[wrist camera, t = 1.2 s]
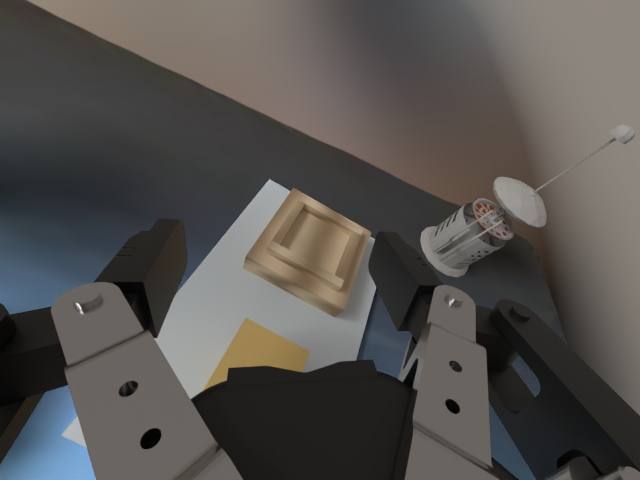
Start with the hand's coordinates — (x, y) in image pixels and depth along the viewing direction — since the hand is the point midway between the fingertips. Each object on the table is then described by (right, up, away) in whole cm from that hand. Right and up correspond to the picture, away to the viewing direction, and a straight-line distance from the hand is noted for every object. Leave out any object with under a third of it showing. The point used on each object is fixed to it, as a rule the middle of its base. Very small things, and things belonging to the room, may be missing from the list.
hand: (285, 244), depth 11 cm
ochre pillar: (-6, -13, +13) cm, 20 cm away
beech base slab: (0, -2, +23) cm, 23 cm away
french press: (+22, -2, +34) cm, 40 cm away
